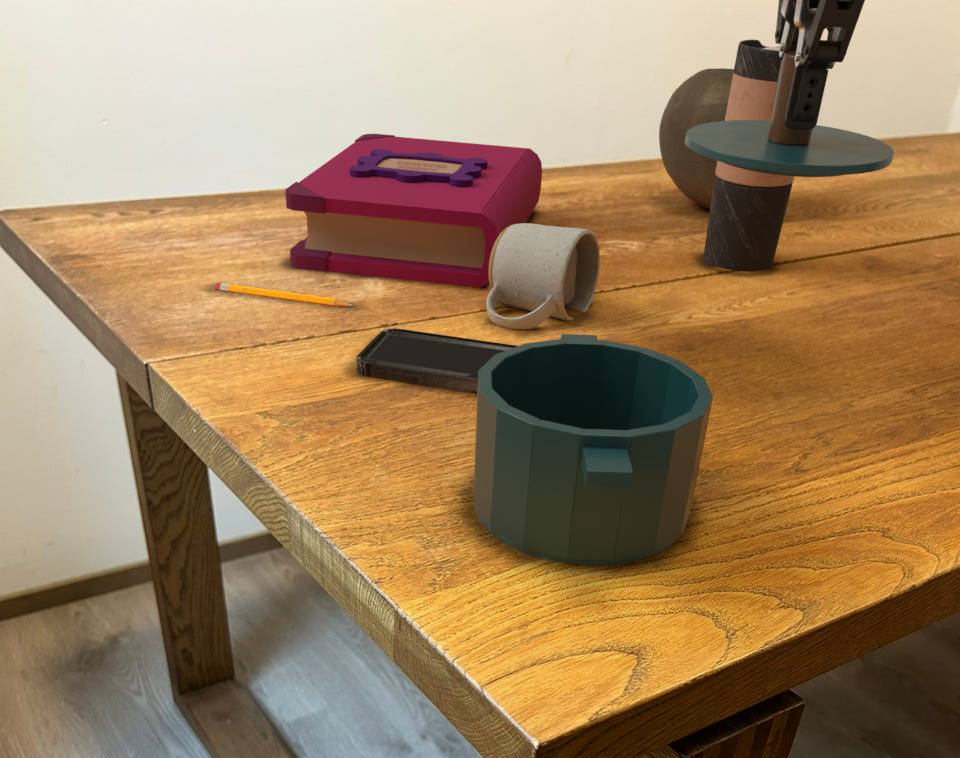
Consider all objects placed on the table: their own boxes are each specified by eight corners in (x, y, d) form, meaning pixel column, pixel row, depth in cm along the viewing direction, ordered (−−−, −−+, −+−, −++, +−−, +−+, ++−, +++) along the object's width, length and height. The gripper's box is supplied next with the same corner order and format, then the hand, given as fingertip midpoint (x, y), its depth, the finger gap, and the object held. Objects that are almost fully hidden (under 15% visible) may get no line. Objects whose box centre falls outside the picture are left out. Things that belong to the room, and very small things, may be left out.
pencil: (219, 289, 93) (218, 281, 93) (354, 307, 91) (354, 300, 90) (215, 292, 92) (214, 284, 92) (351, 310, 90) (351, 303, 89)
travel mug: (745, 282, 100) (791, 54, 88) (685, 262, 105) (721, 42, 92) (788, 268, 105) (838, 48, 92) (728, 249, 109) (768, 37, 97)
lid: (854, 140, 79) (878, 43, 75) (919, 188, 68) (951, 76, 64) (669, 133, 79) (683, 35, 75) (702, 180, 67) (720, 67, 63)
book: (539, 213, 117) (544, 142, 112) (495, 291, 95) (499, 207, 91) (366, 197, 120) (364, 127, 115) (285, 269, 98) (278, 186, 93)
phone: (385, 326, 84) (560, 351, 81) (385, 339, 84) (559, 364, 82) (351, 361, 78) (538, 389, 75) (351, 375, 78) (537, 403, 76)
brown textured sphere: (767, 199, 126) (794, 64, 117) (764, 230, 115) (794, 83, 106) (655, 188, 129) (674, 54, 119) (642, 217, 118) (661, 72, 109)
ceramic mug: (519, 290, 96) (524, 206, 91) (597, 307, 93) (606, 221, 88) (463, 325, 88) (465, 235, 84) (545, 345, 85) (552, 254, 81)
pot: (662, 443, 72) (681, 327, 66) (713, 598, 57) (743, 463, 51) (472, 437, 71) (477, 320, 66) (473, 591, 56) (479, 455, 51)
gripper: (960, -189, 56) (874, 147, 67) (880, -181, 67) (817, 106, 78) (827, -196, 56) (762, 142, 66) (769, -186, 67) (722, 102, 77)
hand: (792, 121), depth 72 cm, fingers closed on lid, 3 cm apart
